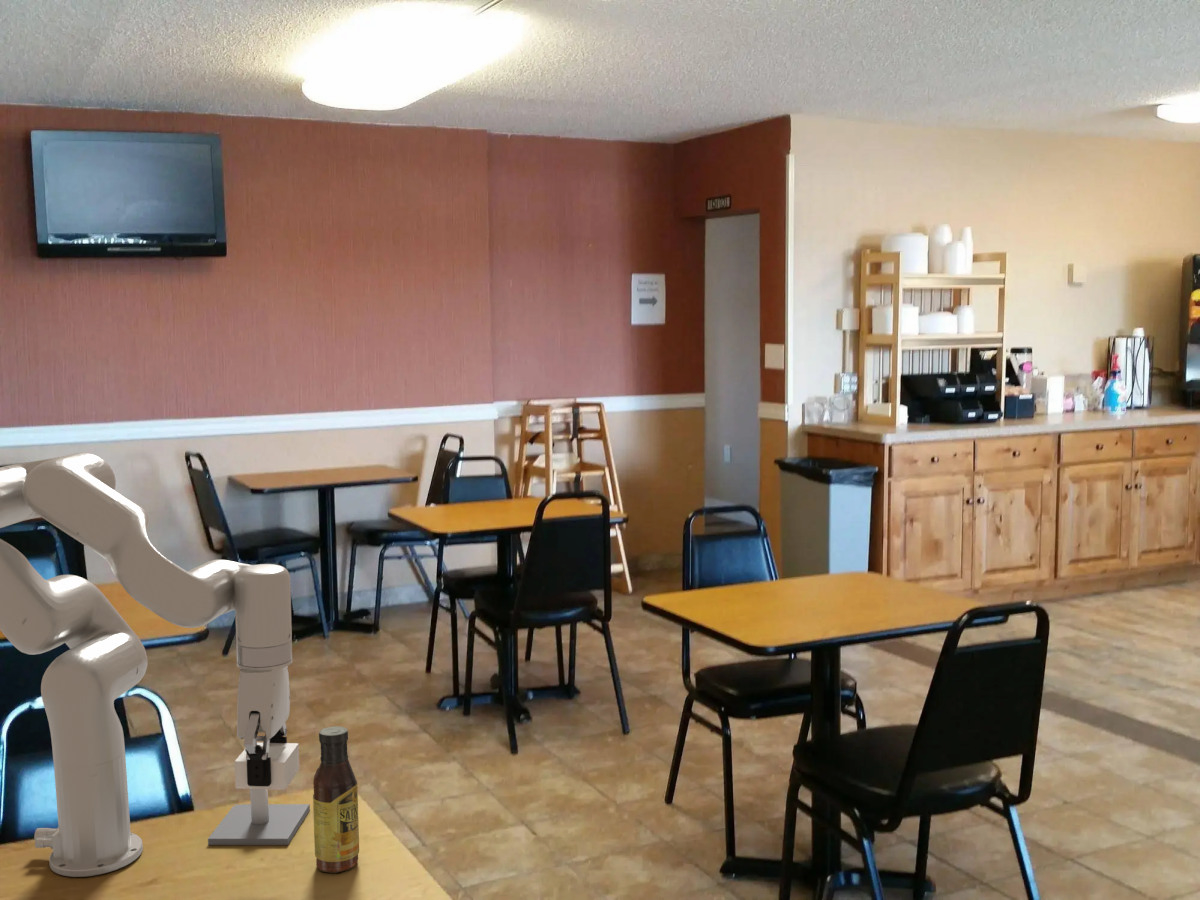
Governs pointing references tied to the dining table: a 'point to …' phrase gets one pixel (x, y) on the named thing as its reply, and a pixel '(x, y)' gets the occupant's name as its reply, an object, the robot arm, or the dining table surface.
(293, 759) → the white block
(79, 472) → the robot arm
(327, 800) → the sauce bottle
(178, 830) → the dining table surface
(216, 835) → the post base
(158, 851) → the dining table surface
